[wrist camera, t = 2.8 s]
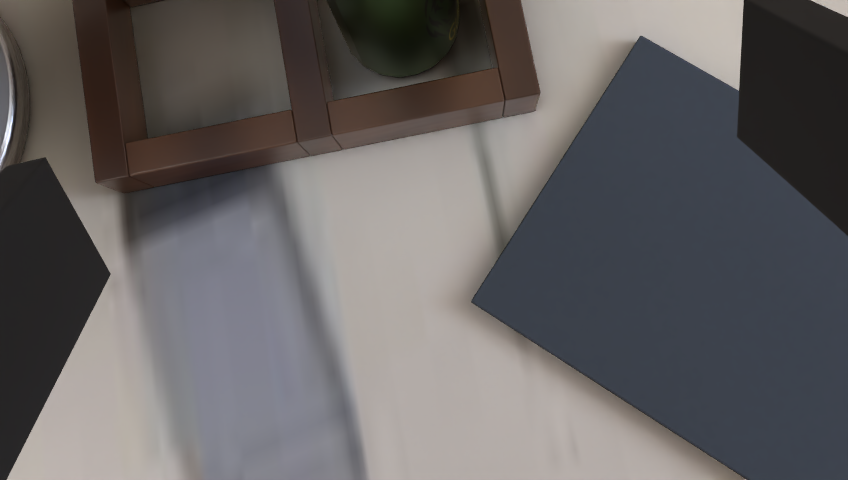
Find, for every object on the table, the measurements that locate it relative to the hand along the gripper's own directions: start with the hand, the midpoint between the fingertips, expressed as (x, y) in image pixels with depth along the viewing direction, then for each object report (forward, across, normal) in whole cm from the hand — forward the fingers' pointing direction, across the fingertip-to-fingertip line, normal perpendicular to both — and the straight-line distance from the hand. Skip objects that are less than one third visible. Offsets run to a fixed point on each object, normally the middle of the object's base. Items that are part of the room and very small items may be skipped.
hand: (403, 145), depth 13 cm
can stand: (+20, -4, -4) cm, 21 cm away
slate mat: (+10, +13, -15) cm, 22 cm away
